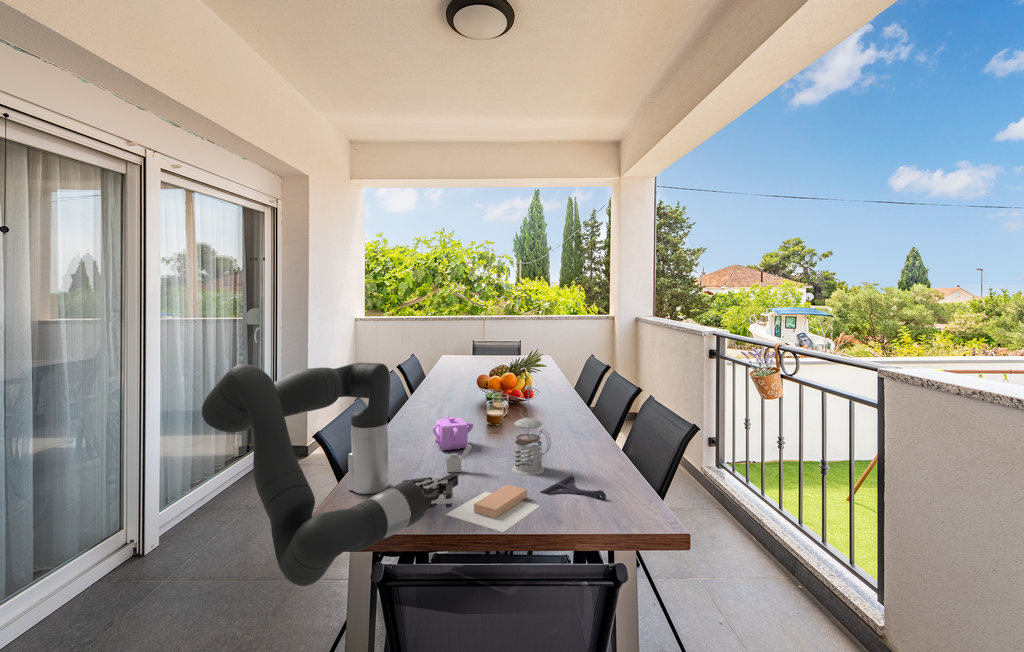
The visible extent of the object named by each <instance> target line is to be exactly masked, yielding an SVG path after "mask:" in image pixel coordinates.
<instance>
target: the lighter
mask: <svg viewBox="0 0 1024 652" xmlns="http://www.w3.org/2000/svg"><path fill="white" fill-rule="evenodd" d="M471 449H472V445H471V444H469V443H468V444H467V446H466V448H464V450H463V452H462V455H459V453H458V452H457V453H456V452H455V453H454V452H453V453H449V456H448V455H447V457H446V473H447V472H461V473H462V467H463V465H462V463H463V462H462V460H466V459H467V457H468V455H469V453H470V451H471Z"/></svg>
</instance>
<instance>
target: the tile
mask: <svg viewBox="0 0 1024 652" xmlns="http://www.w3.org/2000/svg"><path fill="white" fill-rule="evenodd" d="M491 493H492V494H490V495H488V496H486V497H485V498H483V499H481V500H479V501H478V502H476V503H474V512H475V513H478V514H482V515H485V516H489V517H492V518H497V517H498V516H500V515H501V514H503V513H504V512H506V511H507V510H509V509H510V508H512V507H513V506H515V505H516V504H518V503H519V502H521V501H524V500H525V499H527V498H528V489H526V488H523V487H519V486H514V485H511V484H506V485H504V486H502V487H500V488H499V489H496V490H495V491H494V492H491Z"/></svg>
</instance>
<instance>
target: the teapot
mask: <svg viewBox="0 0 1024 652" xmlns="http://www.w3.org/2000/svg"><path fill="white" fill-rule="evenodd" d="M444 417H445V418H440V419H436V424H435V425H433V427H432V432H433V434H434V436H435V438H434V442H435V443H436V444H437V445H438V446H439V448H440V449H441V451H444V450H448V451H449V450H461V449H460V448H463V449H465V448H466V446H467V444H469V442H468V434H469V433H470V432H471V431H472V430H473V429H474V423H472V422H465V420H464V419H462V418H461V417H455V416H451V417H450V416H449V414H445V416H444Z"/></svg>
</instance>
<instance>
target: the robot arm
mask: <svg viewBox="0 0 1024 652" xmlns="http://www.w3.org/2000/svg"><path fill="white" fill-rule="evenodd" d="M390 375H391V374H390V371H389V368H388V366H387V365H386V364H384V363H380V362H379V363H377V362H353V363H350V364H346V365H344V366H340V367H337V368H331V367H313V368H310V367H309V368H303V369H300V370H296V371H294V372H291V373H289V374H287V375H285V376H283V377H281V378H279V379H278V380H276V381H273V379H272V378H271V376H270V375H268V373H267V372H266V371H264V370H262V369H261V368H259V367H257V366H255V365H251V364H246V363H245V364H244V363H242V364H238V365H235V366H233V367H232V368H231V369H229V370H228V371H227V372H226V373H225V374H224V375H223V377H222V378H221V379H220V380H219V381H218V383H216V384H215V385H214V387H213V389H212V390H211V391H210V392H209V393H208V395H207V396H206V398H204V401H203V403H202V406H201V415H202V418H203V420H204V422H205V423H206V424H207V425H208V426H210V427H211V428H213V429H215V430H216V431H217V430H218V431H219V432H224V433H241V432H245V431H248V430H252V436H253V462H252V463H253V464H252V466H253V469H252V470H253V479H254V482H255V488H256V491H257V493H258V496H259V499H260V501H261V503H262V506H263V508H264V509H265V513H266V515H267V516H268V518H269V521H270V522H269V523H270V529H271V530H270V531H271V536H272V544H273V549H274V553H275V557H276V562H277V565H278V567H279V569H280V571H281V574H282V575H283V577H285V578H286V580H288V581H289V582H290V583H292V584H293V585H296V586H300V587H307V586H310V585H313V584H315V583H317V582H318V581H320V579H321V578H323V576H324V575H325V574H326V572H327V571H328V569H329V568H330V567H331V565H332V564H333V562H334V561H335V560H336V558H337V557H339V556H340V555H342V554H343V553H344V552H346V551H348V552H351V553H357V552H360V551H363V550H365V549H367V548H369V547H371V546H373V545H375V544H376V543H379V541H382V540H384V539H386V538H390V537H392V536H394V535H396V534H398V533H399V532H401V531H402V530H404V529H406V528H409V527H410V526H412V525H414V524H415V523H417V522H419V521H421V520H422V519H423V517H424V516H425V514H426V513H427V511H428V510H430V509H434V508H436V507H437V506H438V505H439V504H440V505H441V504H442V505H444V506H445V507H446V508H447V509H448V508H451V507H453V498H454V497H453V488H455V487H457V486H458V485H459V475H457V474H456V473H449V474H447V475H446V476H444V477H442V478H441V477H436V478H434V479H433V477H431V476H428V477H421V478H413V479H404V480H402V482H400V483H398V484H396V485H394V486H391V487H389V442H388V441H389V439H388V438H389V437H388V435H389V433H388V431H389V430H388V426H389V425H388V424H389V423H388V421H389V420H388V419H389V418H388V417H389V416H388V415H389V413H390V412H389V411H390V394H391V393H390V392H391V376H390ZM345 397H346V398H348V397H349V398H357V399H358V398H359V399H360V398H361V399H368V404H367V407H366V408H362V409H360V410H357V411H354V412H353V413H352V414H351V417H350V424H351V425H350V428H351V429H350V433H351V434H350V438H351V439H350V440H351V452H350V453H348V455H347V456H348V457H347V461H348V467H347V468H348V490H349V491H352V492H353V493H355V494H359V495H360V494H362V495H370V494H372V495H373V494H374V495H373V496H371V497H370V498H368V499H367V500H364V501H362V502H360V503H357V504H355V505H352V506H351V507H349V508H342V509H337V510H332V511H326V512H322V513H319V514H317V515H315V516H313V513H314V509H315V506H316V498H315V495H314V492H313V490H312V488H311V486H310V484H309V482H308V479H307V478H306V475H305V473H304V471H303V469H302V467H301V465H300V463H299V461H298V459H297V456H296V453H295V451H294V447H293V445H292V441H291V438H290V433H289V429H288V426H287V423H286V419H285V418H286V417H290V416H294V415H297V414H302V413H306V412H313V411H315V410H316V411H317V410H322V409H324V408H327V407H330V406H332V405H333V404H335V403H336V402H337V401H338V400H339V398H345ZM388 487H389V488H388Z"/></svg>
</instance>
